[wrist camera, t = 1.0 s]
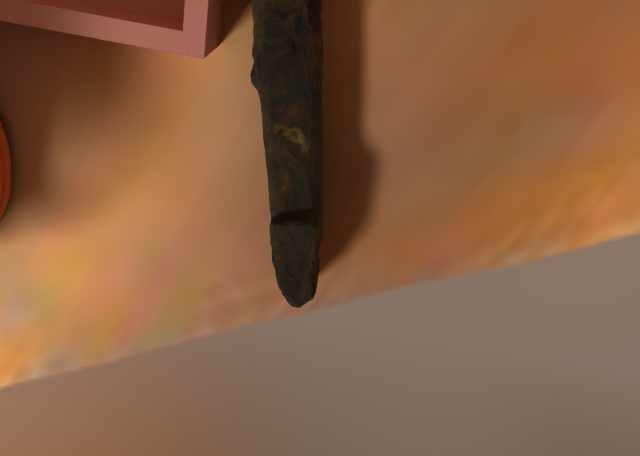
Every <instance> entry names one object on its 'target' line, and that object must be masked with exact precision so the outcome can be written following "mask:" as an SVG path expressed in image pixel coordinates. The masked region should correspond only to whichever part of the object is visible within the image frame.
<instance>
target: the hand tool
mask: <svg viewBox="0 0 640 456" xmlns="http://www.w3.org/2000/svg"><path fill="white" fill-rule="evenodd" d="M251 3H252V13H253V22H254V29H253V36H254V43H253V49H252V56H253V59H254V64H253V68H252V71H251V74H250V76H251V81H252V84H253V85H254V87H255V88H256V89H257V91H258V94H259V97H260V101H261V112H262V124H263V140H264V146H265V156H266V165H267V173H268V187H269V203H270V212H271V223H270V237H271V246H272V262H273V265H274V268H275V271H276V279H277V283H278V286H279V289H280V290H281V292H282V295H283V296H285V298H286V300H287V302H288V303H289V304H290V305H291V306H292V307H297V308H299V307H302V306H303V305H304V304H306V303H307V302H308V301H310V300H312V299H313V297H314V296H315V293H316V288H317V281H318V274H319V262H320V260H319V256H318V252H319V246H320V242H321V234H322V214H323V208H322V199H321V186H322V112H321V92H322V85H321V79H322V62H323V44H322V20H321V0H251Z"/></svg>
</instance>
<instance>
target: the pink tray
mask: <svg viewBox="0 0 640 456" xmlns="http://www.w3.org/2000/svg"><path fill="white" fill-rule="evenodd" d="M223 8H224V0H0V21H5V22H10V23H15V24H21V25H26V26H32V27H37V28H42V29H48V30H53V31H58V32H64V33H69V34H75V35H80V36H85V37H91V38H96V39H101V40H107V41H112V42H118V43H123V44H128V45H134V46H139V47H144V48H150V49H155V50H160V51H166V52H171V53H177V54H182V55H187V56H193V57H198V58H203V59H204V58H205V57H206V56H207V55H208V54H210V53H211V52H212V51H213V50H214V49H215V48H217V47H218V46H219V45H220V41H221V30H222V19H223Z"/></svg>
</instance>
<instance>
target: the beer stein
mask: <svg viewBox="0 0 640 456" xmlns="http://www.w3.org/2000/svg"><path fill="white" fill-rule="evenodd" d="M10 191H11V159H10V152H9V146H8V142H7V138H6V134H5V132H4V129H3V126H2V123H1V120H0V219H1V217H2V215H3V214H4V211H5V208H6V206H7V203H8V200H9V196H10Z"/></svg>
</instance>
